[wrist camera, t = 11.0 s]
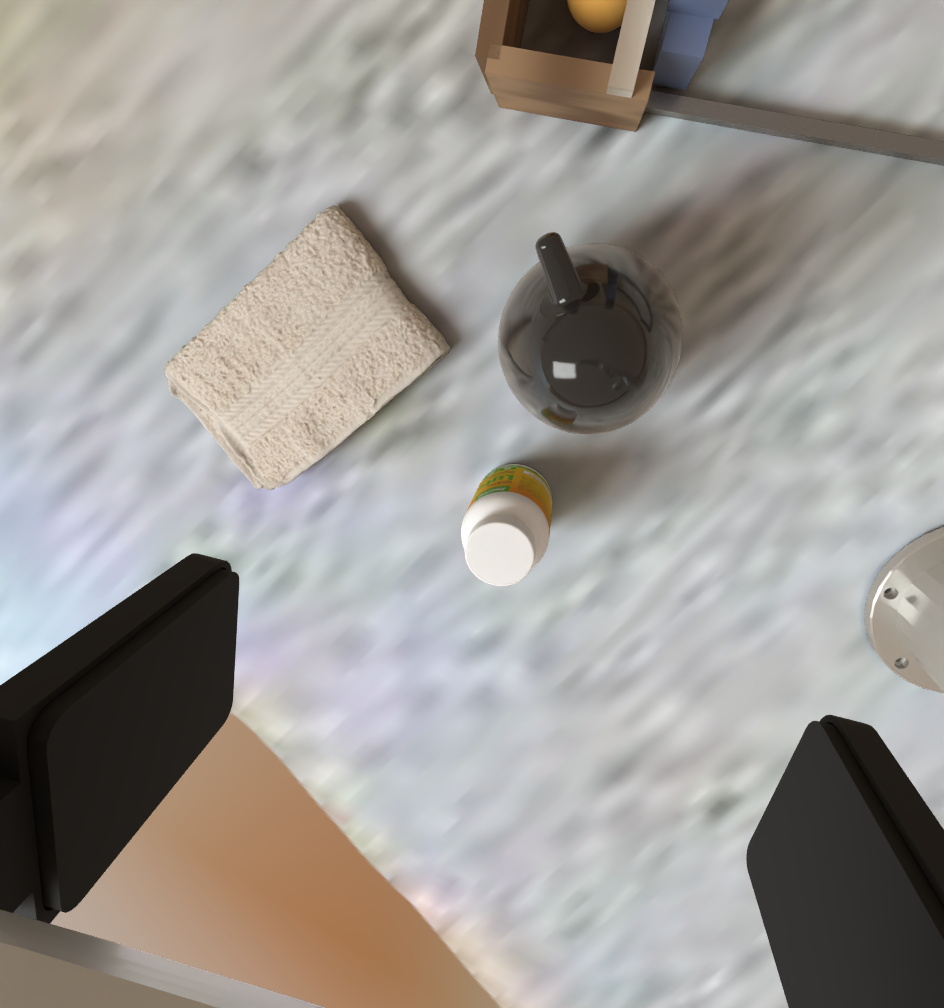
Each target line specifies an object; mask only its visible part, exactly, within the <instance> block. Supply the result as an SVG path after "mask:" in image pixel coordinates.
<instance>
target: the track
mask: <svg viewBox="0 0 944 1008" xmlns="http://www.w3.org/2000/svg"><path fill="white" fill-rule="evenodd" d="M644 112H645V113H651V114H657V115H662V116H668V117H674V118H679V119H685V120H690V121H696V122H702V123H707V124H713V125H719V126H724V127H730V128H736V129H741V130H747V131H752V132H758V133H764V134H769V135H775V136H781V137H786V138H792V139H798V140H803V141H809V142H815V143H820V144H826V145H831V146H837V147H843V148H848V149H854V150H860V151H865V152H871V153H877V154H882V155H888V156H894V157H899V158H905V159H910V160H916V161H922V162H927V163H933V164H939V165H944V141H939V140H933V139H927V138H921V137H916V136H910V135H904V134H898V133H893V132H887V131H881V130H876V129H870V128H864V127H858V126H853V125H847V124H841V123H835V122H830V121H824V120H818V119H812V118H807V117H801V116H795V115H789V114H784V113H778V112H772V111H766V110H761V109H755V108H749V107H743V106H738V105H732V104H726V103H720V102H715V101H709V100H703V99H697V98H692V97H686V96H680V95H674V94H669V93H663V92H657V91H650V95H649V99H648V102H647V105H646V107H645V110H644Z"/></svg>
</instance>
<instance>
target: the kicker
mask: <svg viewBox="0 0 944 1008" xmlns="http://www.w3.org/2000/svg"><path fill="white" fill-rule="evenodd" d="M728 1H729V0H669V3H668V7H667V13H666V17H665V21H664V25H663V29H662V33H661V37H660V41H659V45H658V49H657V53H656V57H655V61H654V65H653V69H652V71H655V75H654V79H653V83H652V85H656V86H662V87H668V88H674V89H679V90H686V88H687V86H688V84H689V83H690V81H691V79H692V77H693V75H694V74H695V72H696V70H697V68H698V66H699V65H700V63H701V61H702V59H703V58H704V54H705V50H706V47H707V43H708V39H709V36H710V32H711V28H712V25H713V21H714V19H717V20H719V18H720V16H721V14H722V12H723V10H724V8H725V7H726V5H727V3H728Z"/></svg>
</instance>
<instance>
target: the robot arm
mask: <svg viewBox="0 0 944 1008" xmlns="http://www.w3.org/2000/svg"><path fill="white" fill-rule="evenodd" d="M238 596H239V576H238V574H237V573H236V572H232V570H231V566H230V563H228V562H227V561H224V560H220V559H216V558H212V557H209V556H205V555H201V554H195V553H193V554H191V555H189V556H187V557H186V558H184V559H183V560H181V561H180V562H178V563H177V564H175V565H174V566H173V567H171V568H170V569H168V570H167V571H165V572H164V573H162V574H161V575H160V576H158V577H157V578H155V579H154V580H152V581H151V582H149V583H148V584H147V585H145V586H144V587H142V588H141V589H139V590H138V591H136V592H135V593H133V594H132V595H131V596H129V597H128V598H126V599H125V600H123V601H122V602H120V603H119V604H118V605H116V606H115V607H113V608H112V609H110V610H109V611H107V612H106V613H105V614H103V615H102V616H100V617H99V618H97V619H96V620H94V621H93V622H92V623H90V624H89V625H87V626H86V627H84V628H83V629H81V630H80V631H78V632H77V633H76V634H74V635H73V636H71V637H70V638H68V639H67V640H65V641H64V642H63V643H61V644H60V645H58V646H57V647H55V648H54V649H52V650H51V651H50V652H48V653H47V654H45V655H44V656H42V657H41V658H39V659H38V660H36V661H35V662H34V663H32V664H31V665H29V666H28V667H26V668H25V669H23V670H22V671H21V672H19V673H18V674H16V675H15V676H13V677H12V678H10V679H9V680H8V681H6V682H5V683H3V684H2V685H0V1008H325V1007H322V1006H319V1005H315V1004H312V1003H309V1002H306V1001H303V1000H299V999H296V998H293V997H289V996H286V995H283V994H280V993H276V992H273V991H270V990H267V989H264V988H260V987H257V986H254V985H250V984H247V983H244V982H241V981H238V980H235V979H231V978H228V977H225V976H221V975H218V974H215V973H212V972H209V971H205V970H202V969H199V968H196V967H192V966H189V965H186V964H183V963H180V962H176V961H173V960H170V959H167V958H163V957H160V956H157V955H154V954H150V953H147V952H144V951H141V950H137V949H134V948H131V947H127V946H124V945H121V944H118V943H115V942H111V941H108V940H104V939H101V938H97V937H94V936H91V935H87V934H83V933H80V932H77V931H73V930H69V929H66V928H62V927H59V926H55V925H52V924H50V923H51V922H52V920H53V919H54V918H55V917H56V916H57V914H58V913H59V912H60V911H62V912H65V913H66V912H69V911H71V910H72V909H73V908H75V907H76V906H77V905H78V903H80V902H81V900H82V899H83V898H84V897H85V896H86V894H87V893H88V892H89V891H90V889H91V888H92V887H93V886H94V884H95V883H96V882H97V881H98V879H99V878H100V877H101V876H102V874H103V873H104V872H105V871H106V869H107V868H108V867H109V866H110V864H111V863H112V862H113V861H114V859H115V858H116V857H117V856H118V854H119V853H120V852H121V851H122V849H123V848H124V847H125V846H126V845H127V843H128V842H129V841H130V840H131V839H132V837H133V836H134V835H135V833H136V832H137V831H138V830H139V828H140V827H141V826H142V825H143V824H144V822H145V821H146V820H147V819H148V817H149V816H150V815H151V814H152V812H153V811H154V810H155V809H156V807H157V806H158V805H159V804H160V802H161V801H162V800H163V799H164V798H165V796H166V795H167V794H168V793H169V791H170V790H171V789H172V788H173V786H174V785H175V784H176V783H177V781H178V780H179V779H180V778H181V776H182V775H183V774H184V773H185V771H186V770H187V769H188V768H189V766H190V765H191V764H192V763H193V762H194V760H195V759H196V758H197V757H198V755H199V754H200V753H201V752H202V750H203V749H204V748H205V747H206V745H207V744H208V743H209V742H210V740H211V739H212V738H213V737H214V735H215V734H216V733H217V732H218V731H219V729H220V728H221V727H222V726H223V724H224V723H225V721H226V720H227V718H228V716H229V713H230V711H231V707H232V703H233V689H234V670H235V652H236V633H237V615H238ZM864 620H865V626H866V632H867V636H868V638H869V640H870V642H871V645H872V647H873V649H874V650H875V651H876V653H877V654H878V655H879V656H880V658H881V659H882V660H883V662H884V663H885V664H886V665H887V666H888V667H889V668H890V669H891V670H892V671H893V672H894V673H896V674H897V675H899V676H900V677H902V678H903V679H905V680H906V681H908V682H910V683H912V684H915V685H917V686H919V687H921V688H924V689H928V690H932V691H936V692H940V693H944V527H941V528H939V529H937V530H934V531H932V532H930V533H927V534H925V535H923V536H921V537H920V538H918V539H916V540H915V541H913V542H911V543H910V544H908V545H906V546H905V547H904V548H903V549H902V550H900V551H899V552H898V553H897V554H896V555H895V556H893V557H892V558H891V559H890V560H889V561H888V563H887V564H886V565H885V566H884V567H883V569H882V570H881V571H880V572H879V574H878V575H877V577H876V579H875V581H874V583H873V584H872V586H871V588H870V591H869V594H868V597H867V601H866V604H865V617H864ZM747 868H748V873H749V876H750V879H751V883H752V886H753V889H754V893H755V896H756V899H757V903H758V906H759V909H760V913H761V916H762V919H763V923H764V926H765V929H766V933H767V936H768V939H769V943H770V946H771V949H772V953H773V956H774V959H775V963H776V966H777V970H778V973H779V976H780V980H781V983H782V986H783V990H784V993H785V996H786V1000H787V1003H788V1006H789V1008H944V829H943V828H942V826H941V825H940V824H939V822H938V821H937V819H936V818H935V816H934V815H933V813H932V812H931V810H930V809H929V807H928V806H927V805H926V803H925V802H924V800H923V799H922V797H921V796H920V794H919V793H918V791H917V790H916V788H915V787H914V786H913V784H912V783H911V781H910V780H909V778H908V777H907V775H906V774H905V772H904V771H903V769H902V768H901V767H900V765H899V764H898V762H897V761H896V759H895V758H894V756H893V755H892V753H891V752H890V750H889V749H888V748H887V746H886V745H885V743H884V742H883V740H882V739H881V737H880V736H879V734H878V733H877V731H876V730H875V729H874V728H873V727H872V726H870V725H868V724H865V723H861V722H857V721H853V720H849V719H845V718H841V717H837V716H833V715H826V716H825V717H823V718H822V719H821V720H820V722H818V721H812V722H811V723H810V724H809V725H808V726H807V728H806V730H805V732H804V734H803V736H802V738H801V740H800V742H799V744H798V746H797V748H796V750H795V752H794V754H793V756H792V758H791V760H790V762H789V764H788V766H787V768H786V770H785V772H784V774H783V776H782V778H781V780H780V782H779V784H778V786H777V788H776V790H775V792H774V794H773V796H772V798H771V800H770V802H769V804H768V806H767V808H766V810H765V812H764V814H763V816H762V818H761V820H760V822H759V824H758V826H757V828H756V830H755V832H754V834H753V836H752V838H751V840H750V843H749V845H748V849H747Z"/></svg>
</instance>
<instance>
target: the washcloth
mask: <svg viewBox="0 0 944 1008" xmlns="http://www.w3.org/2000/svg"><path fill="white" fill-rule="evenodd" d="M316 217H317V218H316V219H315V220H313V221H312V222H311V223H310V224H309V225H308V226H306V227H305V228H304V229H303V231H302V232H301V233H300V234H299V235H298V237H297V238H296V239H295V240H294V241H292V242H290V243H289V244H288V245H287V246H286V249H285V250H284V251H283V252H280V253H279V254H278V255H277V256H276V257H275V258H274V260H273V262H271V263H270V264H269V265H268V267H267V268H266V269H265V270H263V271H261V272H260V273H259V275H258V276H257V277H256V278H255V280H254V281H252V282H250V283H249V284H247V285H245V286H243V290H242V291H241V292H240V293H239V294H238V295H237V296H236V298H235V299H234V300H232V301H230V303H229V305H227V307H224V308H222V310H221V312H220V313H218V315H217V316H216V318H215V319H214V320H213V321H211V322H210V323H209V324H207V325H206V326H205V328H203V329H202V331H201V332H200V333H199V334H198V335H197V336H196V337H195V338H194V337H193V338H192V340H191V341H190V342H189V343H188V344H187V345H184V346H183V347H182V349H181V350H180V351H179V352H178V353H177V354H176V356H174V357H173V358H172V359H171V360H170V361H168V362H167V363H168V364H167V365H166V368H165V370H164V372H165V375H166V376H167V377H168V382H169V389H170V393H171V394H172V395H173V397H176V398H178V399H179V400H181V401H182V402H184V403H185V404H186V406H187V407H188V408H189V409H190V410H191V411H192V412H193V413H194V414H195V415H196V416H197V417H198V419H199V420H200V422H201V423H202V424H203V426H204V427H205V428H206V429H207V430H208V431H209V433H210V434H211V435H212V436H213V437H214V439H215V440H216V441H217V442H218V444H219V445H220V446H221V447H222V448H223V450H224V451H225V452H226V454H227V455H228V456H229V458H230V459H231V460H232V461H233V462H234V463H235V464H236V466H237V467H238V468H239V469H240V470H241V471H242V472H243V473H244V475H245V476H246V477H247V478H248V479H249V481H250V482H251V483H252V485H253V486H254V488H256V489H260V488H263V487H264V488H265V489H267V490H272V489H274V488H276V487H280V486H283V485H285V484H288V483H290V482H291V481H293V480H294V479H295V478H296V477H298V476H299V475H300V474H301V473H303V472H304V471H305V470H306V469H308V468H309V467H310V466H312V465H313V464H314V463H315V462H317V461H319V460H320V459H322V458H323V457H324V456H325V455H327V454H328V453H329V452H331V451H332V450H333V449H334V448H336V447H337V446H338V445H339V444H340V443H342V442H343V441H344V440H345V439H346V438H347V437H349V436H350V435H351V433H353V432H354V431H355V430H356V429H358V428H359V427H360V426H361V425H362V424H364V423H365V422H366V421H367V420H369V419H370V418H372V417H373V416H374V415H375V414H376V412H378V411H379V410H380V409H381V408H383V407H384V406H385V405H386V404H387V403H388V402H390V401H391V400H392V399H393V398H394V397H395V396H396V395H398V394H399V393H400V392H402V391H403V390H404V389H405V388H407V387H408V386H409V385H410V384H412V383H413V382H414V381H416V380H417V379H418V378H419V377H420V376H422V375H423V374H424V373H426V372H427V371H428V370H429V369H431V368H432V367H433V366H434V365H435V364H436V363H437V362H438V361H440V360H441V359H442V358H443V357H444V356H445V355H446V354H447V353H448V352H449V350H450V347H449V345H448V344H447V343H446V341H445V339H444V337H443V335H441V333H440V332H439V331H438V330H437V329H436V328H435V326H434V325H432V323H431V322H430V321H429V320H428V318H427V317H426V316H425V315H424V314H422V312H421V311H420V310H419V309H417V308H416V307H415V304H411V303H410V302H409V301H408V300H407V299H406V297H405V296H404V295H403V293H402V291H401V290H400V289H399V288H398V287H397V284H396V282H395V281H394V280H393V279H392V278H391V277H390V276H389V273H388V272H387V267H386V265H385V264H384V262H383V261H382V259H381V258H380V257H379V255H378V254H377V252H376V251H375V250H374V249H373V248H372V247H371V245H370V243H369V242H368V241H367V240H366V239H365V238H364V237H363V234H362V232H361V231H359V230H357V228H356V227H355V225H354V224H353V223H352V222H351V220H350V219H349V218H348V217H347V216H346V215H345V213H344V212H343V211H342V210H341V209H340V208H339V207H337V206H332V207H329V208H327V209H326V210H325V212H323V213H321V212H320V213H319V214H317V215H316Z"/></svg>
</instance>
